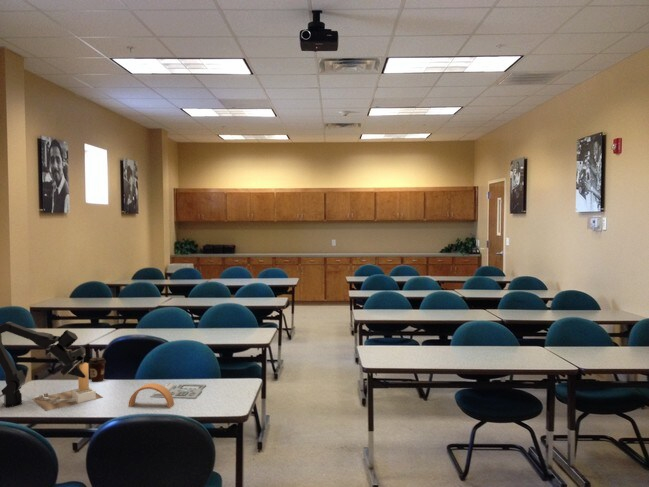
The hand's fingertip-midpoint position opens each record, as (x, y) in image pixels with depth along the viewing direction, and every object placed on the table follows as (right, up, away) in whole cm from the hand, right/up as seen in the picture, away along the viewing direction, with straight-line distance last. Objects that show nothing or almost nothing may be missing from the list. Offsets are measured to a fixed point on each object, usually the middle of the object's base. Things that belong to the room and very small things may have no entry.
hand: (86, 375), depth 252 cm
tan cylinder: (-1, -7, 0) cm, 7 cm away
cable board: (-10, -12, +1) cm, 16 cm away
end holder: (-1, -11, 0) cm, 11 cm away
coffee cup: (-7, -11, +29) cm, 32 cm away
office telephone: (+42, -12, +14) cm, 46 cm away
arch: (+34, -13, -6) cm, 36 cm away
